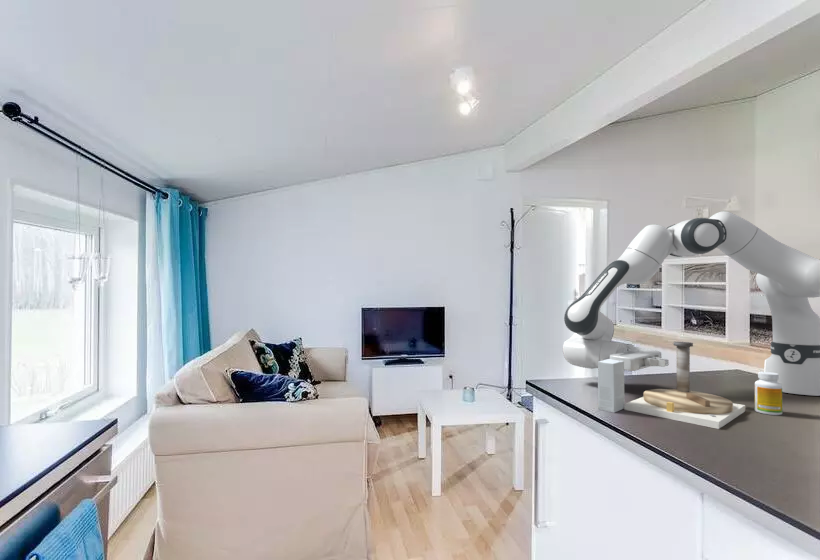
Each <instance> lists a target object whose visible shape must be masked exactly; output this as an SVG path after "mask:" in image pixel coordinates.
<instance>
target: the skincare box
mask: <svg viewBox="0 0 820 560" xmlns="http://www.w3.org/2000/svg"><path fill="white" fill-rule="evenodd" d="M597 369H598V370H597V409H598V411H603V412H604V411H605V412H609V413H617V412H619V411H621V410H623V409H624V410H625V370H624V361H619V360H612V359H607V360H603V361H599V362H598V368H597Z"/></svg>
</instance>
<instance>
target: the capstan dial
mask: <svg viewBox="0 0 820 560" xmlns="http://www.w3.org/2000/svg"><path fill="white" fill-rule="evenodd" d="M673 346H676V384H675V385H676V388H653V389H647V390H645V391H643V397H644V401H646V402H647V403H649V404H652V405H655V406H658V407H662V408H666V409H667V402H672V403H674V410H676V411H682V412H690V413H700V414H723V413H729V412H731V411H732V410H733V403H734V402H733V401H732V400H730V399H728V398H726V397H723V396H720V395H716V394H711V393H709V392H708V393H707V392H702V391H696V390H691V389H690V386H691V385H690V384H691V383H690V382H691V381H690V380H691V379H690V377H691V376H690V375H691V374H690V372H691V371H690V370H691V369H690V366H691V363H690V362H691V361H690V359H691V358H690V357H691V355H690V353H691V351H690V350H691V349H690V348H692V347H694V343H693V342H689V341H673Z"/></svg>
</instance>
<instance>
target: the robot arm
mask: <svg viewBox="0 0 820 560" xmlns="http://www.w3.org/2000/svg"><path fill="white" fill-rule="evenodd" d="M715 249H719V251H721V252H722V253H724V254H725V255H726V256H728V257H729V258H730V259H732V260H733V261H734V262H736V263H737V264H739V265H740V266H742V267H743V268H745V269H747V271H750V272H753V273H757V274H756V276H755V277H756V278H755V283H756V286H757V287H758V288H759V290H760V291H761V292H762V293H763V294H764V295H765V298H766V300H767V304H768V306H769V309H770V314H771V319H772V321H771V325H772V327H771V328H772V341H771V342H770V346H769V347H770V353H771V355H770V356H769V357H767V358H766V359H764V367H763V372H772V373H777V374H779V380H777V382H779V383H780V384H781V385H782V393H788V394H795V395H802V396H804V395H805V396H820V316H819V315H818V313H816V312H815V311H814V309H812V307H811V304H810V302H809V298H813V299H814V298H819V297H820V258H817V257H814V256H811V255H810V254H807V253H805V252H802V251H800V250H798V249H797V248H796V249H795V248H793V247H791V246H789V245H786V244H784V243H782V242H781V241H779V240H778V239H775V238H774V237H773V236H771V235H769V234H768V233H767V232H765V231H764V230H762V229H761V228H759V226H757V225H755V224H753V223H752V222H750V221H749V220H747V219H745V218H743V217H741V216H740V215H737V214H735V213H732V212H730V211H726V210H723V211H719V212H716V213H713V215H711V216H710V217H709V218H707V217H696V218H692V219H685V220H682V221H680V222H678V223H676V224H675V223H674V224H672V225H670V226H668V227H665V226H663V225H660V224H655V223H654V224H648V225H646V226H645V227H643V228H642V229H641V230H640V231H639V232H638V233H637V235H636V236H635V237H634V238H633V239H632V240H631V241H630V243H628V246H627V247H626V249H625V250H624V251H623V253H622V254H621V255H620V256H619V257H618V258H617V259H616V260H614V261H612V262H611V263H609V264H608V265H607V266H606V267H605V268H604V269H603V270H602V271H601V273H600V274H599V275H598V276H597V277H596V279H594V281H593V282H592V283H591V284H590V286H589V287H588V288H587V289H586V290H585V291H584V292H583V294H582V295H580V297H578V298H577V299H576V300H574V301H573V302H572V303H571V304H570V305H569V306H568V307H567V309H566V310H565V312H564V318H563V319H564V320H563V321H564V324H565V327H566V328H567V329H568V330H570V331H571V332H572V333H573V334H572V335H571V336H570V337H569V338H568V339H566V340H564V341H563V345H562V353H563V357H564V358H565V360H566V362H567V363H569V364H570V365H572V366H575V367H579V368H585V369H591V370H593V369H598V362H599V361H603V360H607V359H612V360H619V361H624V371H628V372H635V371H640V370H642V369H647V368H649V367H662V368H664V367H668V366H669V364H670V362H669V359H668V358H662V352H661V351H660V350H657V349H651V348H650V349H649V348H645V347H640V346H638V347H637V346H634V344H629V343H624V342H616V341H612V340H613V336H614V333H615V325H614V323H613V321H612V320H611V319H610V318H609V317H608V316H607V315H606V314H604V313H603V312H602V311H601V309H602V306H603V305H604V304H605V302H606V301H607V300H608V299H609V298H610V296H612V294H613V293H614V291H616V290H617V288H619V287H620V286H622V285H625V284H626V285H642V284H645V283H648V282H649V281H650V280H651V279H652V278H653V277H654V276H655V274H656V273H657V272H658V270H659V269H660V267H661V266H662V264H663V263H664V261H665V259H666V258H668V256H672V257H681V258H682V257H694V256H697V255H703V254H707V253H710V252H712V251H713V250H715Z"/></svg>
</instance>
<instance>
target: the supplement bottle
mask: <svg viewBox="0 0 820 560" xmlns="http://www.w3.org/2000/svg"><path fill="white" fill-rule="evenodd" d="M757 377H758V380H756V381H755V382H754V411H755V412H757V413H760V414H763V415H768V416H781V415H783V392H782V385H781V384H780V383H779V382H777V380H779V374H777V373H772V372H764V371H758V373H757Z"/></svg>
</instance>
